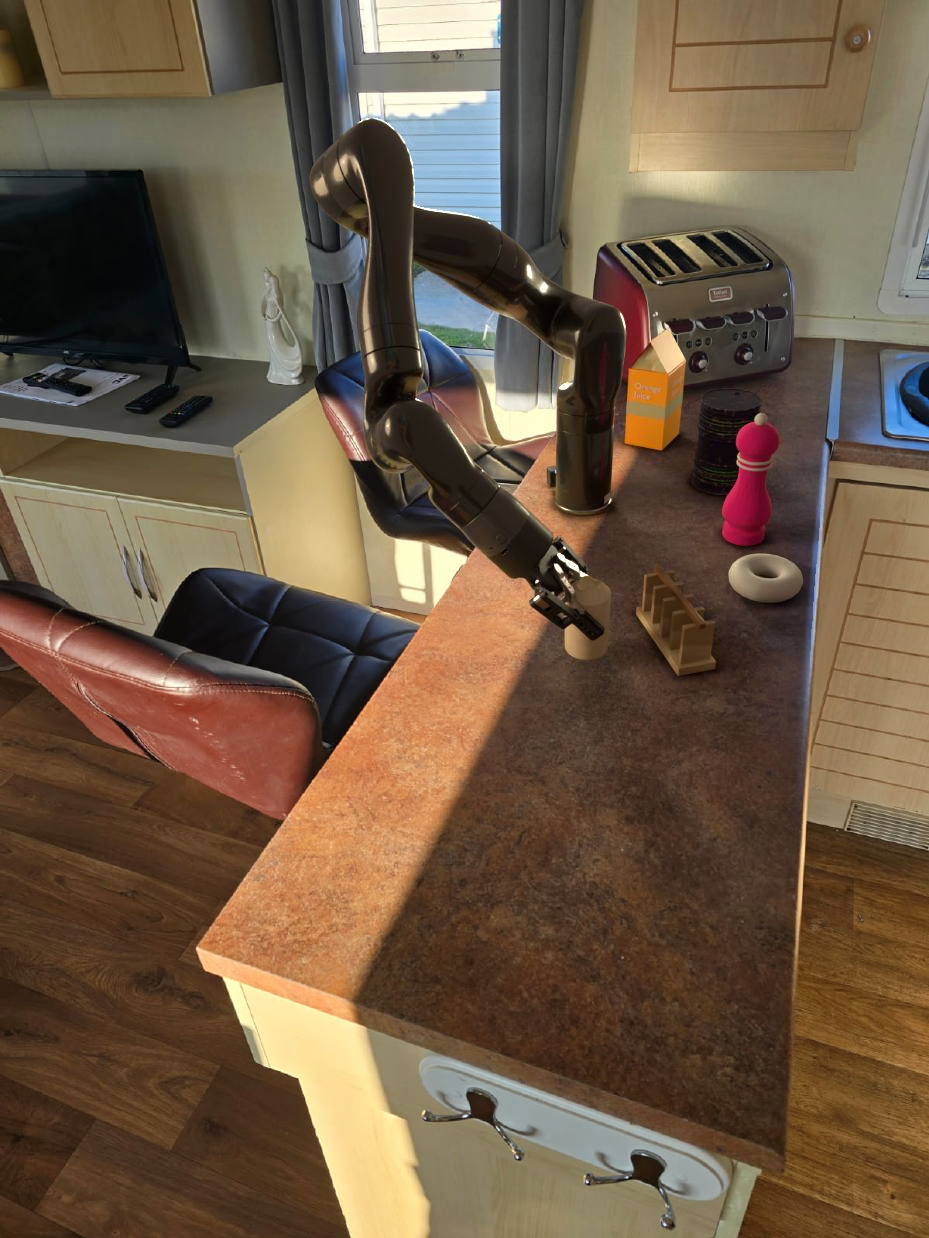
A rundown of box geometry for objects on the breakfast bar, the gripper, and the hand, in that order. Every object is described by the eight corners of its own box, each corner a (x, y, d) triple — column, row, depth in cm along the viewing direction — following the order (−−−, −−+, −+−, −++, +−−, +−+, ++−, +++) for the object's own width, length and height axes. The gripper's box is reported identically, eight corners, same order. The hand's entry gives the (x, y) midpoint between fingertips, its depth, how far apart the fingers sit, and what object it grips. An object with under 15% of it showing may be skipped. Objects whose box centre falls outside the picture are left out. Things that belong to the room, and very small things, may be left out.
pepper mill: (769, 549, 129) (791, 424, 117) (719, 546, 130) (736, 422, 119) (765, 525, 135) (786, 404, 123) (718, 523, 136) (734, 403, 124)
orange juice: (679, 433, 165) (689, 329, 153) (662, 450, 159) (671, 343, 148) (641, 426, 169) (648, 324, 157) (623, 443, 163) (629, 338, 151)
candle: (561, 636, 112) (562, 572, 106) (602, 632, 112) (606, 568, 106) (568, 662, 107) (570, 596, 101) (612, 658, 107) (615, 592, 102)
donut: (799, 613, 115) (801, 573, 123) (804, 592, 113) (806, 553, 121) (723, 602, 118) (730, 564, 126) (726, 582, 116) (733, 544, 124)
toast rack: (635, 614, 117) (639, 567, 113) (670, 608, 118) (674, 562, 113) (677, 676, 106) (683, 627, 101) (715, 669, 107) (722, 620, 102)
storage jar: (739, 499, 142) (752, 414, 133) (682, 488, 147) (691, 404, 138) (757, 476, 149) (770, 393, 140) (702, 465, 153) (712, 384, 145)
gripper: (496, 520, 110) (586, 604, 114) (472, 580, 99) (573, 671, 103) (536, 485, 106) (628, 574, 110) (516, 544, 94) (619, 640, 99)
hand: (601, 620), depth 106 cm, fingers closed on candle, 5 cm apart
